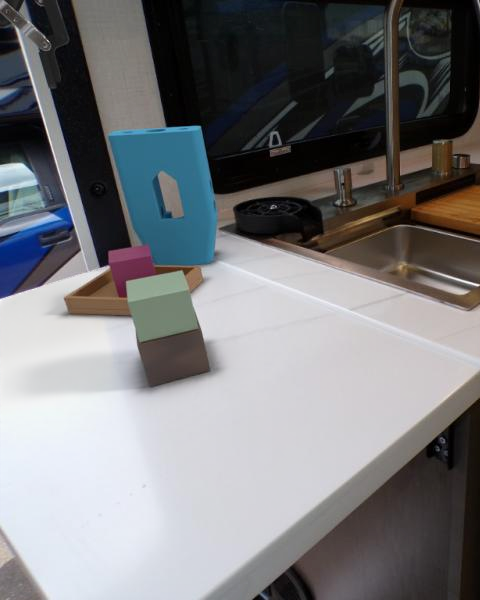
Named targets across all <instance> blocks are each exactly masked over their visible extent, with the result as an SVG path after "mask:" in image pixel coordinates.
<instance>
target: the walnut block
mask: <svg viewBox="0 0 480 600" xmlns="http://www.w3.org/2000/svg"><path fill="white" fill-rule="evenodd" d="M194 312H195V316H196V320H197V325H198V329H196V330H192V331H187V332H183V333H179V334H175V335H170V336H166V337H162V338H158V339H154V340H149V341H145V342H141V343H140V342H139V339H138V336H137V332H136V329H134V330H135V340H136V346H137V351H138V353H139V357H140V360H141V364H142V366H143V370H144V374H145V378H146V380H147V384H148V386H149V388H152V387H155V386H159V385H163V384H167V383H170V382H174V381H178V380H181V379H186V378H188V377H192V376H193V377H194V376H196V375H199V374H203V373H207V372H211V365H210V360H209V356H208V351H207V348H206V343H205V339H204V334H203V330H202V327H201V325H200V322H199V318H198V315H197V313H196V310H195V308H194Z"/></svg>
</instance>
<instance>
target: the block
mask: <svg viewBox="0 0 480 600" xmlns="http://www.w3.org/2000/svg"><path fill="white" fill-rule="evenodd" d="M202 129H203V128H202V126H201V125H190V126H189V125H188V126H187V125H186V126H170V127H155V128H154V127H153V128H136V129H121V130H115V131H112V132H110V133H109V134H107V139H108V142H109V145H110V150H111V153H112V157H113V160H114V164H115V168H116V172H117V175H118V179H119V183H120V187H121V191H122V194H123V197H124V200H125V204H126V208H127V212H128V216H129V219H130V223H131V227H132V229H133V231H134V233H135V235H136V236H137V238H138V240H139V241H140V243H141V245H147V244H148V245H149V249H150V253H151V256H152V260H153V264H154V265H176V266H200V265H207V264H210V263H213V260H214V256H215V251H216V242H217V241H216V239H217V229H218V221H219V220H218V219H219V213H218V208H217V202H216V197H215V192H214V187H213V181H212V177H211V171H210V167H209V161H208V157H207V150H206V146H205V141H204V135H203V130H202ZM160 172H164V173H165V174H166V175H168V176H169V177H170V178H172V179H173V180H174V181H176V186H177V189H178V195H179V200H180V203H181V207H182V213H183V216H178V217H173V212H172V210H168V211H167V209H166V203H165V200H164V196H163V192H162V188H161V184H160V183H161V182H160V179H159V174H160Z"/></svg>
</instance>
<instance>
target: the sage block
mask: <svg viewBox="0 0 480 600" xmlns="http://www.w3.org/2000/svg"><path fill="white" fill-rule="evenodd" d="M126 289H127V300H128V305H129V309H130V312H131V315H132V316H131V315H130V316H131V319H132V322H133V326H134V328H135V329H136V331H135V333H136V332H137V336H138V339H139V342H140V343H141V342H145V341H149V340H154V339H158V338H162V337H166V336H170V335H175V334H179V333H183V332H187V331H192V330H196V329H198V325H197V320H196V316H195V312H196V311H195V312H194V309H195V307H194V304H193V300H192V295H191V292H190V290H189V287H188V284H187V281H186V279H185V276H184V273H183V271H182V270H181V271H176V272H171V273H166V274H161V275H155V276H150V277H145V278H140V279H135V280H130V281H126ZM135 329H134V330H135Z"/></svg>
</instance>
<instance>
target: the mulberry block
mask: <svg viewBox="0 0 480 600" xmlns="http://www.w3.org/2000/svg"><path fill="white" fill-rule="evenodd" d="M107 254H108V255H107V256H108V266H109V268H110V270H111V273H112V276H113V279H114V283H115V286H116V289H117V293H118V296H119V297H120V298H127V289H126V281H130V280H135V279H140V278H145V277H150V276H155V275H156V272H155V268H154V264H153V260H152V256H151V253H150V249H149V245H148V244H147V245H142V244H141V245H136V246H130V247H124V248H117V249H113V250H108V253H107Z"/></svg>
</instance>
